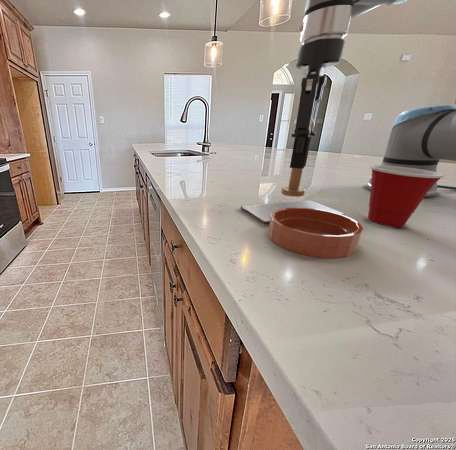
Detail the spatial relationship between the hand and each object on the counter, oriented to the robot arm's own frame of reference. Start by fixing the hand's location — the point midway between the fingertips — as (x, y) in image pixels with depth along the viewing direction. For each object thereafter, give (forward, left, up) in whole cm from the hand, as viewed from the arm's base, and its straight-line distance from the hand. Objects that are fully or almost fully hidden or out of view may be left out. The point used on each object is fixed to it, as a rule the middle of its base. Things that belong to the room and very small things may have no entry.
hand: (297, 166), depth 56 cm
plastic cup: (-16, +10, -12) cm, 22 cm away
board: (0, 0, -12) cm, 12 cm away
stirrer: (0, 0, -6) cm, 6 cm away
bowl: (+6, +14, -12) cm, 19 cm away
